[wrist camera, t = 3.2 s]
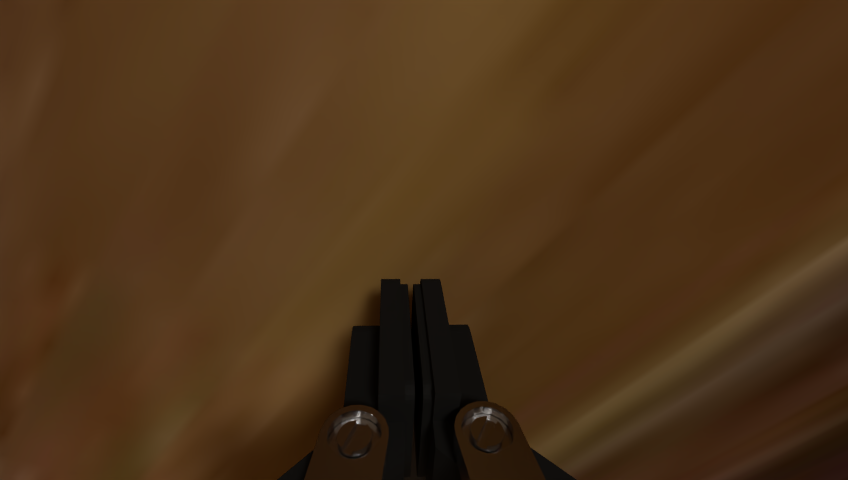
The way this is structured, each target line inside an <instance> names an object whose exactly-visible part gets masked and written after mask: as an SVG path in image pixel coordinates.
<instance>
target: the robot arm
mask: <svg viewBox="0 0 848 480" xmlns="http://www.w3.org/2000/svg"><path fill="white" fill-rule="evenodd" d="M413 424H414V437H415V454H416V470H417V477H425V480H576V479H575V478H573V477H572V476H570V475H569V474H567V473H566V472H565V471H563V470H562V469H560V468H559V467H557V466H556V465H555V464H553V463H552V462H550V461H549V460H547V459H546V458H545V457H543V456H542V455H540V454H539V453H537V452H536V451H535V450H533V449H532V448H530V446H529V444H528V442H527V440H526V438H525V436H524V434H523V432H522V429H521V427H520V425H519V423H518V422H517V420H516V419H515V417H514V416H513V415H512V414H511V413H510V412H509V411H508V410H507V409H505V408H504V407H502V406H500V405H498V404H496V403H492V402H488V399H487V395H486V391H485V387H484V383H483V380H482V376H481V372H480V368H479V364H478V360H477V356H476V352H475V348H474V344H473V340H472V336H471V332H470V329H469V326H468V325H449V323H448V318H447V313H446V308H445V302H444V297H443V292H442V287H441V282H440V279H421V281H420V284H414V285H413V300H412V321H411V325H410V310H409V296H408V284H400V279H381V305H380V326H353V329H352V337H351V346H350V355H349V364H348V373H347V382H346V391H345V400H344V407H343V408H341V409H339V410H337V411H336V412H334V413H332V414H331V415H330V416H329V417H328V419H327V420H326V421H325V422H324V424H323V426H322V428H321V430H320V433H319V436H318V439H317V442H316V445H315V448H314V450H313V451H311V452H310V453H309V454H308V455H307V456H305V457H304V458H303V459H302V460H301V461H299V462H298V463H297V464H296V465H295V466H293V467H292V468H291V469H290V470H288V471H287V472H286V473H285V474H284V475H282V476H281V477H280V478H279V479H278V480H404V478H410V475H411V458H412V441H413Z"/></svg>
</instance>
